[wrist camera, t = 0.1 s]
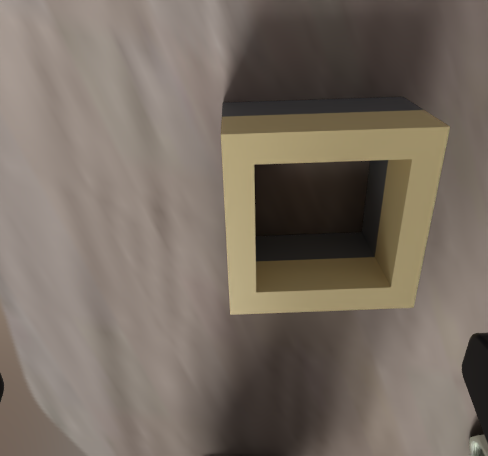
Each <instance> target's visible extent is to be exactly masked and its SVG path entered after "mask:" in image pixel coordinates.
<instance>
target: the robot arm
mask: <svg viewBox="0 0 488 456" xmlns="http://www.w3.org/2000/svg"><path fill="white" fill-rule="evenodd" d="M462 374H463V378H464V381H465V383H466V386H467V389H468V392H469V394H470V397H471V400H472V403H473V405H474V408H475V411H476V413H477V416H478V419H479V422H480V424H481V427H482V430H483V433H484V435H485V438H486V441H487V443H488V333H475V334H473V335H472V336H471V338H470V340H469V343H468V347H467V350H466V353H465V356H464V360H463V363H462ZM3 391H4V382H3V378H2V376H1V373H0V402H1V398H2V396H3Z"/></svg>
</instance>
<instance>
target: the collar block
mask: <svg viewBox="0 0 488 456" xmlns="http://www.w3.org/2000/svg"><path fill="white" fill-rule="evenodd" d="M449 130H450V126H448V125H446V124H445V123H443V122H442V121H440V120H439V119H437V118H435V117H434V116H432V115H431V114H429V113H428V112H426V111H425V110H423V109H421V108H420V107H418V106H417V105H415V104H414V103H412V102H410V101H409V100H407V99H406V98H404V97H382V98H351V99H321V100H290V101H259V102H229V103H223V108H222V124H221V147H222V166H223V185H224V204H225V223H226V243H227V262H228V281H229V300H230V315H235V314H261V313H288V312H314V311H340V310H366V309H392V308H414V303H415V298H416V293H417V288H418V283H419V278H420V273H421V268H422V263H423V258H424V253H425V248H426V244H427V239H428V234H429V229H430V224H431V219H432V214H433V209H434V204H435V199H436V194H437V189H438V184H439V179H440V174H441V169H442V164H443V159H444V155H445V150H446V145H447V140H448V135H449ZM343 161H370V165H369V174H368V182H367V191H366V199H365V208H364V216H363V225H362V232H358V233H331V234H303V235H275V236H255V181H254V165H256V164H285V163H314V162H343Z"/></svg>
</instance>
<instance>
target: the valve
mask: <svg viewBox="0 0 488 456" xmlns="http://www.w3.org/2000/svg"><path fill="white" fill-rule="evenodd" d="M469 450H470V456H488V443H487V441H486V438H485V435H477V436H473V437H470V440H469Z"/></svg>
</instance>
